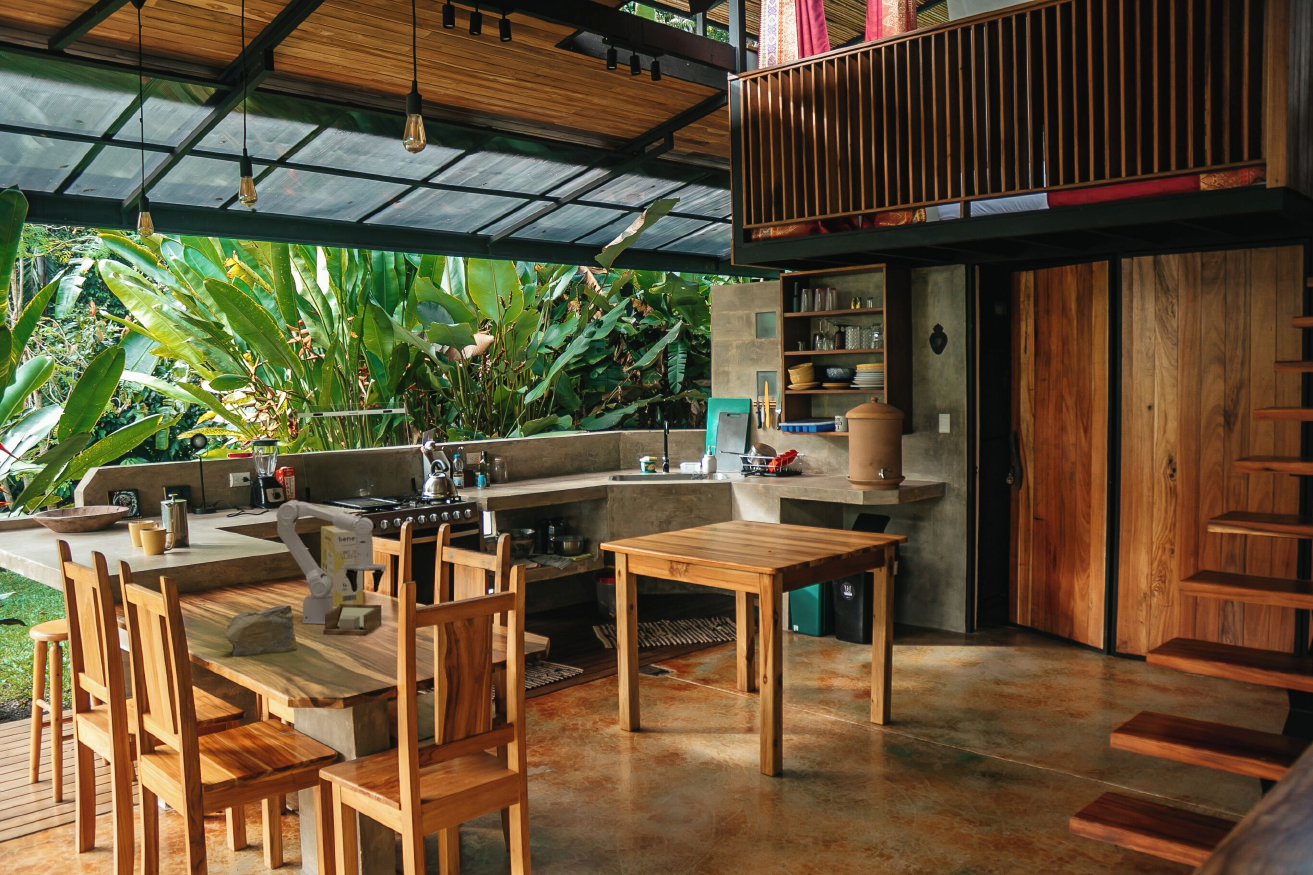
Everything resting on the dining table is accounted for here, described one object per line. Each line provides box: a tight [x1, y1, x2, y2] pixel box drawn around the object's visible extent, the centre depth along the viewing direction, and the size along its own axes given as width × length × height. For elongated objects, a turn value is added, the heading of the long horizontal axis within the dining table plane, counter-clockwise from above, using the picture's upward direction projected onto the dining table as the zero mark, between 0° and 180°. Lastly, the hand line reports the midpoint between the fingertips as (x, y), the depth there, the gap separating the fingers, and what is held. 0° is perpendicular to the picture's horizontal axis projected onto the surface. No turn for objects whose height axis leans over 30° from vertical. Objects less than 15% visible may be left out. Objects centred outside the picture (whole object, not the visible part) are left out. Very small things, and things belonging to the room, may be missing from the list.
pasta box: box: [320, 525, 364, 608], centre depth 370 cm, size 18×10×28 cm, turn 34°
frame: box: [322, 603, 382, 637], centre depth 327 cm, size 14×14×7 cm
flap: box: [338, 608, 374, 629], centre depth 330 cm, size 11×7×1 cm
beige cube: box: [338, 615, 361, 630], centre depth 324 cm, size 5×5×5 cm
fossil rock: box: [223, 605, 298, 657], centre depth 300 cm, size 20×10×15 cm, turn 114°
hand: (365, 591), depth 339 cm, fingers open, 7 cm apart
